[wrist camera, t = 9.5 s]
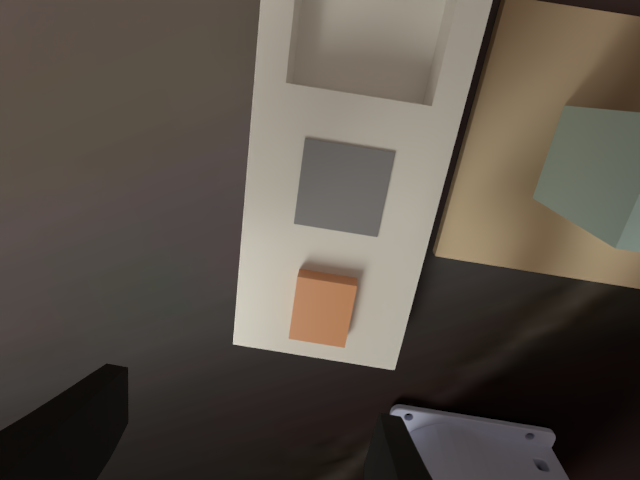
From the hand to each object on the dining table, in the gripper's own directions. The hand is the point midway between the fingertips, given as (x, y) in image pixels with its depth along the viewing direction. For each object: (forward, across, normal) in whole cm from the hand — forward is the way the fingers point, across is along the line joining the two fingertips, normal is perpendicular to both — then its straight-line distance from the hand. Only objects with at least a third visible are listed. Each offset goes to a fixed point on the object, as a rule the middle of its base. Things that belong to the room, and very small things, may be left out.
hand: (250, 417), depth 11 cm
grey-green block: (+9, -12, -8) cm, 17 cm away
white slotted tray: (+10, -2, -8) cm, 13 cm away
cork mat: (+10, -12, -8) cm, 18 cm away
